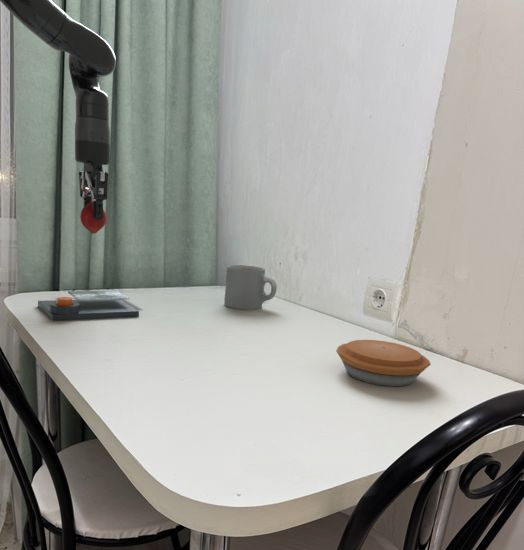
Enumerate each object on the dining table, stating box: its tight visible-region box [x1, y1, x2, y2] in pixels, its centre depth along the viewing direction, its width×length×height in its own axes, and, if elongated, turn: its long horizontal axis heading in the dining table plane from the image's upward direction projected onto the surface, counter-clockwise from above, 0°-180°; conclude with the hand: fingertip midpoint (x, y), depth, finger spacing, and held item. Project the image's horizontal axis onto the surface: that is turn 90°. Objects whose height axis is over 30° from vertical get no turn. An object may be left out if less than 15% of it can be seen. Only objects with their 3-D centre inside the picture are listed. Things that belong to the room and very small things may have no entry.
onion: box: [79, 199, 107, 234], centre depth 118 cm, size 6×6×8 cm
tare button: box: [56, 296, 73, 306], centre depth 104 cm, size 3×3×2 cm
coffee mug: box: [223, 264, 277, 311], centre depth 132 cm, size 13×10×10 cm
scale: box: [37, 299, 140, 322], centre depth 111 cm, size 18×14×3 cm
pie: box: [335, 339, 431, 387], centre depth 86 cm, size 15×16×5 cm
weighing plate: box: [67, 289, 130, 301], centre depth 114 cm, size 11×9×1 cm
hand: (93, 218), depth 118 cm, fingers closed on onion, 6 cm apart
